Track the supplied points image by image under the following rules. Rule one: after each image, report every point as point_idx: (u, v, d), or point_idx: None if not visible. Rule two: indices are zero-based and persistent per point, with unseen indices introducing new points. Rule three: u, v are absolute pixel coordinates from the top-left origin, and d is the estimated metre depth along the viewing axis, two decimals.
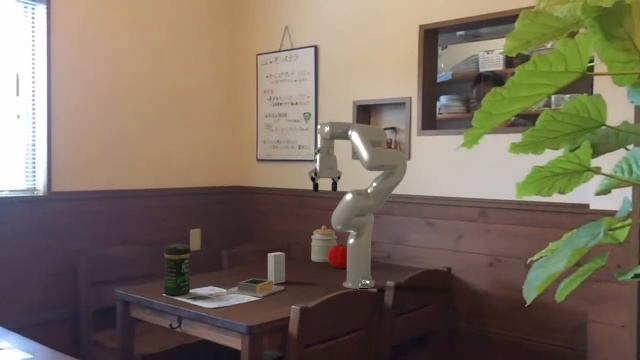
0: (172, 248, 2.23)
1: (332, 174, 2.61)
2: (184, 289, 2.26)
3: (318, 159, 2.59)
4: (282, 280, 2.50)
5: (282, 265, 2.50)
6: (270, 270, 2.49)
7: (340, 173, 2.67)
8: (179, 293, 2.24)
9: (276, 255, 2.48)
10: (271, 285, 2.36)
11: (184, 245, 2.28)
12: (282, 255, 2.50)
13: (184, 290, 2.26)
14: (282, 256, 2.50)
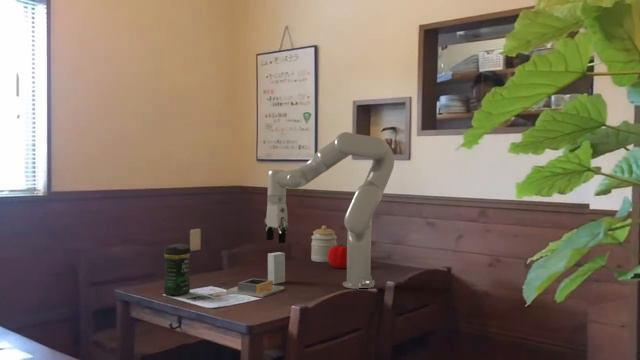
0: (172, 248, 2.23)
1: None
2: (184, 289, 2.26)
3: (285, 208, 2.47)
4: (282, 280, 2.50)
5: (282, 265, 2.50)
6: (270, 270, 2.49)
7: None
8: (179, 293, 2.24)
9: (276, 255, 2.48)
10: (271, 285, 2.36)
11: (184, 245, 2.28)
12: (282, 255, 2.50)
13: (184, 290, 2.26)
14: (282, 256, 2.50)
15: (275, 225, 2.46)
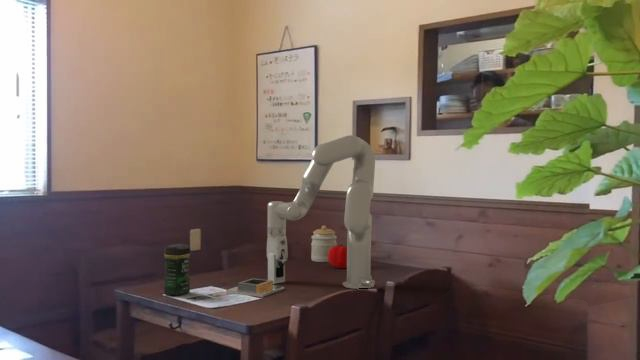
0: (172, 248, 2.23)
1: None
2: (184, 289, 2.26)
3: (285, 240, 2.47)
4: (282, 280, 2.50)
5: None
6: (270, 270, 2.49)
7: None
8: (179, 293, 2.24)
9: None
10: (271, 285, 2.36)
11: (184, 245, 2.28)
12: None
13: (184, 290, 2.26)
14: None
15: (275, 257, 2.47)
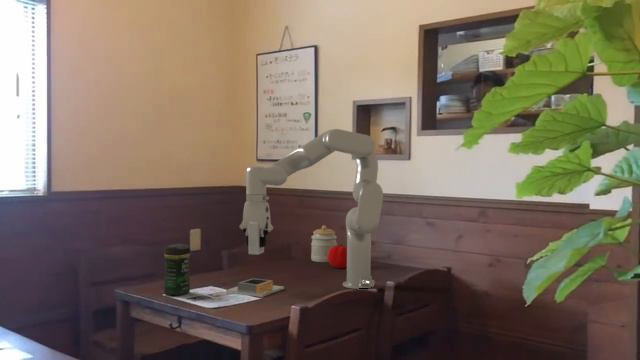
0: (172, 248, 2.23)
1: None
2: (184, 289, 2.26)
3: (268, 207, 2.33)
4: (262, 250, 2.35)
5: None
6: (252, 240, 2.31)
7: None
8: (179, 293, 2.24)
9: None
10: (271, 285, 2.36)
11: (184, 245, 2.28)
12: None
13: (184, 290, 2.26)
14: None
15: (260, 226, 2.30)
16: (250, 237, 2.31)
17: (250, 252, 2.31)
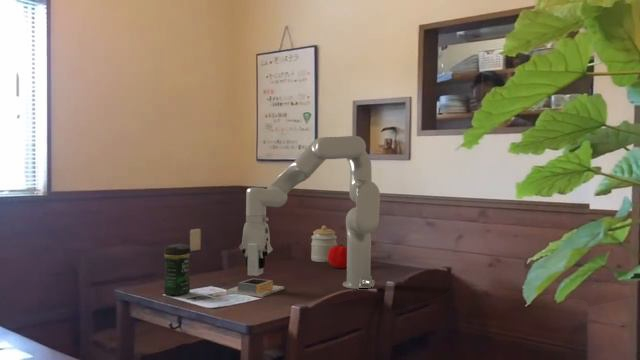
0: (172, 248, 2.23)
1: None
2: (184, 289, 2.26)
3: (268, 228, 2.33)
4: (261, 271, 2.35)
5: None
6: (251, 261, 2.31)
7: None
8: (179, 293, 2.24)
9: None
10: (271, 285, 2.36)
11: (184, 245, 2.28)
12: None
13: (184, 290, 2.26)
14: None
15: (259, 247, 2.30)
16: (249, 258, 2.31)
17: (249, 273, 2.31)
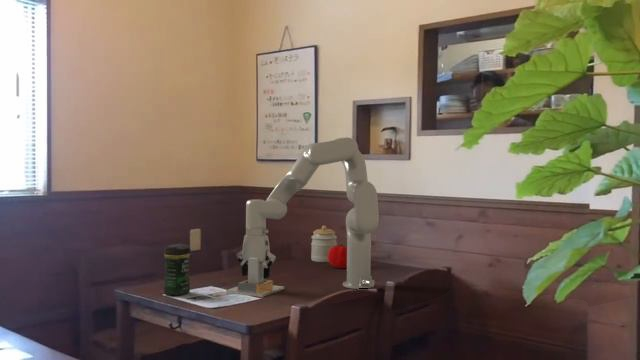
0: (172, 248, 2.23)
1: None
2: (184, 289, 2.26)
3: (268, 240, 2.33)
4: None
5: (262, 269, 2.35)
6: (252, 275, 2.31)
7: None
8: (179, 293, 2.24)
9: None
10: (271, 285, 2.36)
11: (184, 245, 2.28)
12: None
13: (184, 290, 2.26)
14: None
15: (259, 259, 2.31)
16: (250, 272, 2.31)
17: None
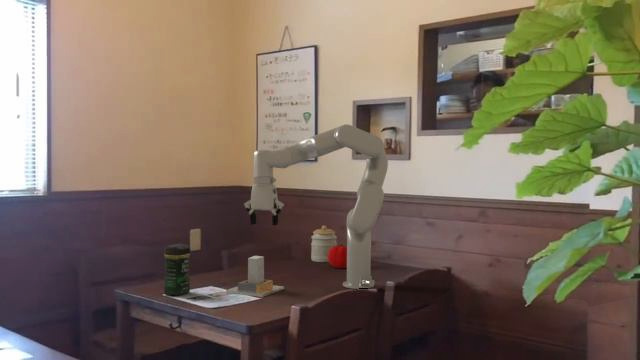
0: (172, 248, 2.23)
1: None
2: (184, 289, 2.26)
3: None
4: None
5: (262, 269, 2.35)
6: (252, 276, 2.31)
7: None
8: (179, 293, 2.24)
9: (259, 259, 2.32)
10: (271, 285, 2.36)
11: (184, 245, 2.28)
12: (262, 258, 2.35)
13: (184, 290, 2.26)
14: (262, 260, 2.34)
15: (268, 207, 2.38)
16: (250, 272, 2.31)
17: None
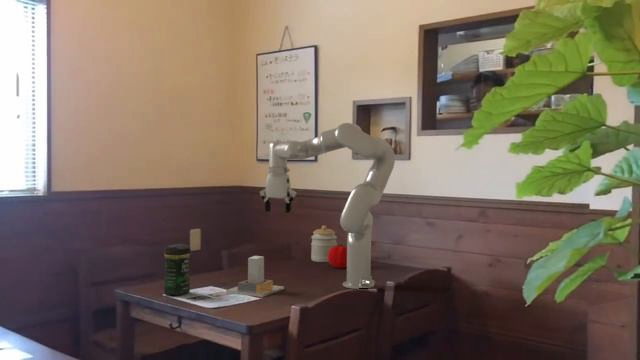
0: (172, 248, 2.23)
1: None
2: (184, 289, 2.26)
3: (289, 179, 2.56)
4: None
5: (262, 269, 2.35)
6: (252, 276, 2.31)
7: None
8: (179, 293, 2.24)
9: (259, 259, 2.32)
10: (271, 285, 2.36)
11: (184, 245, 2.28)
12: (262, 258, 2.35)
13: (184, 290, 2.26)
14: (262, 260, 2.34)
15: (281, 195, 2.54)
16: (250, 272, 2.31)
17: None
